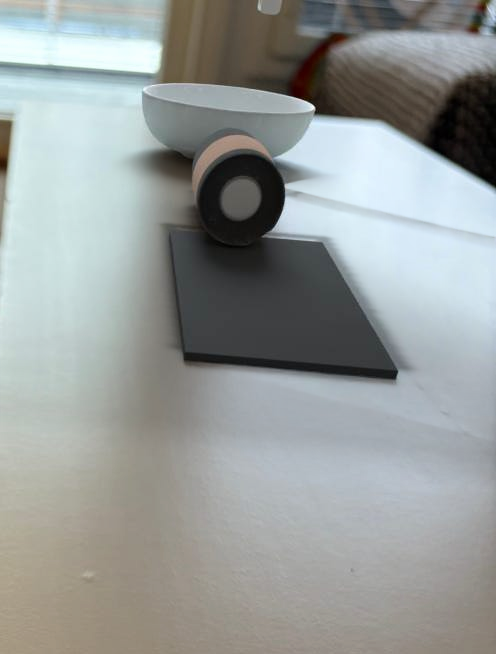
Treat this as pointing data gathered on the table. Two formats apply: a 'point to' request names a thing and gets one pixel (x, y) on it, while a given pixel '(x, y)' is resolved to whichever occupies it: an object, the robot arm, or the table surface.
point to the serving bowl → (223, 115)
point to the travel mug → (236, 187)
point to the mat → (271, 307)
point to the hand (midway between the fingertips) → (267, 13)
